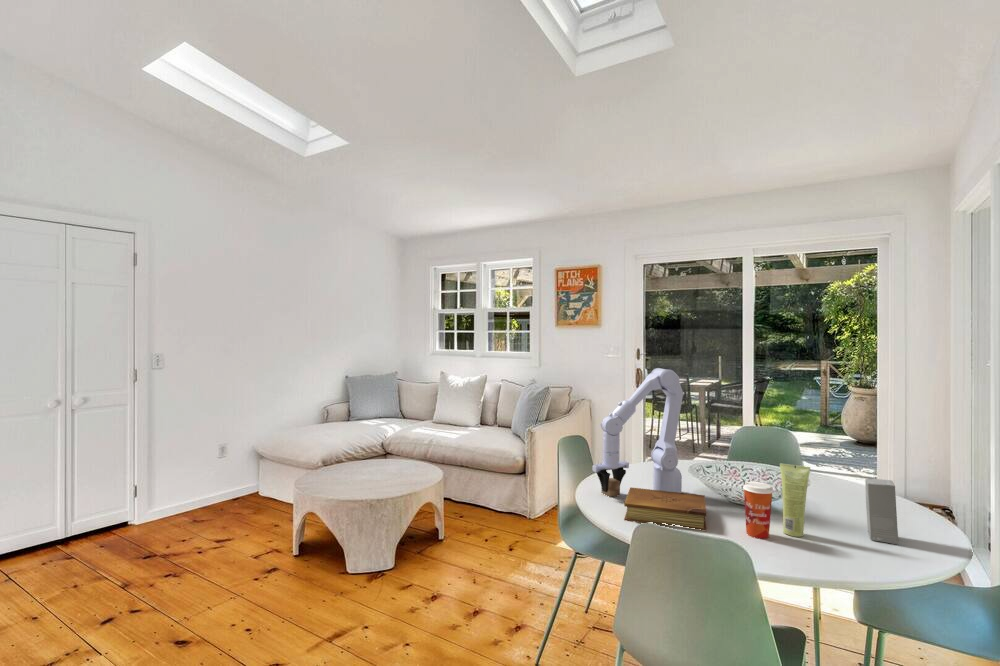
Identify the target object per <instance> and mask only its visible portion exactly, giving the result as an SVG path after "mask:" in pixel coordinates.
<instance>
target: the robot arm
mask: <svg viewBox="0 0 1000 666" xmlns="http://www.w3.org/2000/svg"><path fill="white" fill-rule="evenodd" d="M656 390H661V391H662V393H664V394H665V396H666V398H665V404H664V409H663V415H662V419H661V420H662V422H661V426H660V432H659V437H658V439H657V441H656V442H655V445H654V448H653V449H652V450H651V452H650V453H651V454H650V459H651V460H652V462H653V463H654V464H653V471H652V472H653V473H652V474H653V476H652V477H653V479H652V480H653V483H652V484H653V487H652V489H651V490H660V491H669V492H678V493H683V492H682V487H683V485H682V482H683V479H682V478H683V477H682V476H683V475H682V472H681V471H680V469H679V468H678V467H677V466H678V464H679V458H678V449H677V445H676V437H677V431H678V425H679V420H680V416H681V415H680V414H681V408H682V402H683V397H684V392H683V388H682V386H681V383H680V376H679V375H678V374H677V373H676V372H675V371H674V370H672V369H668V368H667V369H665V368H661V367H657V368H653V370H652V371H651V372H650V373H648V374H647V375H646V377H645V379H644V380H643V381H642V382H641V384H640V385H639V386H638V387H637V389H636V390H635V391H634V392H633V393H632V395H631V396H630V397H629V398H628V399H626V400H625V399H623V400H621V401H619V402H618V403H617V406H616V408H615V409H614V410H613V411H611V412H609V413H608V415H609V416H608V415H607V416H606V417H604V418H603V419H602V422H601V423H600V428H601V430H603V432H602V436H603V437H602V461H601V463H597V464H594V465H592V472H594V473H596V475H597V478H598V479H599V483H600V485H601V487H602V491H604V492H607V491H608V481H609V478H610V476H611V475H612V478H613V479H616V480H618V481H620V485H621V483H622V481H623V478H624V477H625V475H626V473H627V471H626V469H629V468H630V463H629V462H628V461H620V449H621V447H620V440H621V439H620V434H621V433H622V431H623V427H624V425H625V424H626V423H627V422H628V421H629V420H630V419H631V417H632V416H633V415H634V414H635V413H636V411H637V409H636V407H637V405H639V404H640V403H641V402H642V401H643V400H644V399H645V398H646V397H647V396H648V395H649V394H650V392H652V391H656ZM608 471H611V472H612V474H611V473H610V472H608Z"/></svg>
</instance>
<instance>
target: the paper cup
mask: <svg viewBox="0 0 1000 666" xmlns="http://www.w3.org/2000/svg"><path fill="white" fill-rule="evenodd" d="M742 489H743V496H744V499H743V500H744V510H745V511H744V512H745V513H744V514H745V515H744V516H745V530H746V531H745V532H746V534H748V535H747V536H749V537H751V538H754V537H755V538H754V539H759V538H760V539H762V540H763V539H765V540H766V539H768V538H769V536H770V528H771V527H770V525H771V515H772V513H771V511H772V498H773V493H775V491H774V489H773V487H772V486H771V485H770V484H768V483H765V482H759V481H746V482H745V483H744V486H743V487H742ZM760 539H759V540H760Z"/></svg>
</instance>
